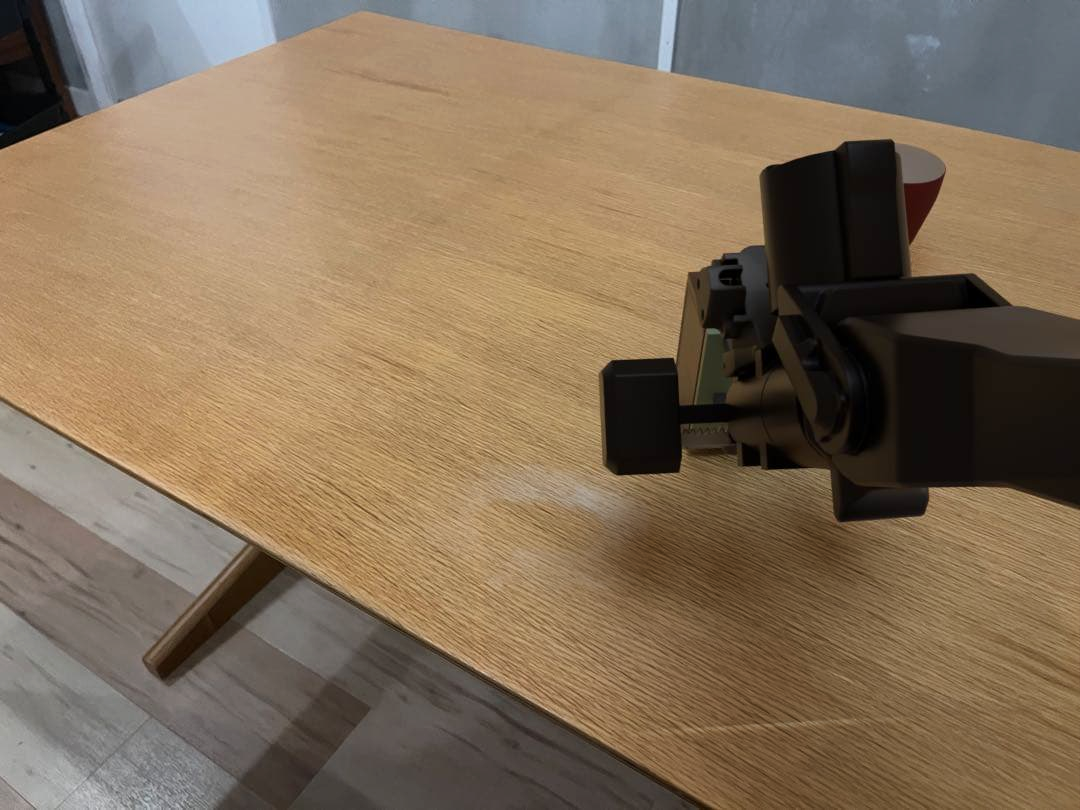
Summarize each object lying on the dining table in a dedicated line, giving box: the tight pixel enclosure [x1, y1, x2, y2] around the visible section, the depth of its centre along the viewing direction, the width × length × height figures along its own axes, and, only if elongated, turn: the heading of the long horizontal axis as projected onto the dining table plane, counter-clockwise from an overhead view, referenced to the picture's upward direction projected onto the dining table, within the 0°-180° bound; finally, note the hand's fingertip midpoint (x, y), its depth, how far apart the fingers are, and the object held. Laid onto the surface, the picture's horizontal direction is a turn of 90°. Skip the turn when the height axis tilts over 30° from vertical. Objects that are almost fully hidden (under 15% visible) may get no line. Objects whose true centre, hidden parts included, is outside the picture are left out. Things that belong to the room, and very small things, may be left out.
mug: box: [895, 142, 947, 247], centre depth 76 cm, size 10×8×10 cm
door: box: [687, 329, 737, 456], centre depth 54 cm, size 6×7×11 cm
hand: (732, 415), depth 53 cm, fingers open, 9 cm apart
